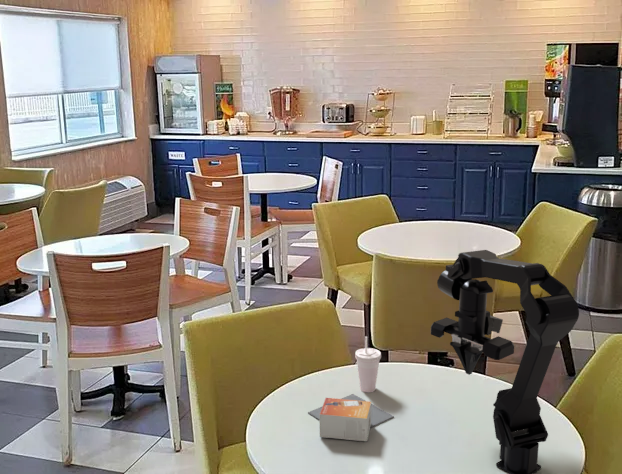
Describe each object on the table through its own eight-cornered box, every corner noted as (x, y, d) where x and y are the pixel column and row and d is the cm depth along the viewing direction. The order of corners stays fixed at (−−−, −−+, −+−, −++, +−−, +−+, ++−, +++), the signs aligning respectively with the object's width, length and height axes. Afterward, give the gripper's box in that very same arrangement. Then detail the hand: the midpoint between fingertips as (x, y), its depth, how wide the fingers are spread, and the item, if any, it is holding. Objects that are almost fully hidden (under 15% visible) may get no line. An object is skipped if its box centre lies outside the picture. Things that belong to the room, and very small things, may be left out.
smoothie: (351, 385, 174) (351, 333, 171) (374, 381, 176) (375, 330, 173) (360, 396, 168) (360, 343, 165) (384, 392, 170) (385, 339, 167)
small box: (367, 418, 147) (319, 414, 149) (367, 442, 148) (319, 437, 150) (371, 400, 154) (325, 396, 156) (371, 423, 156) (325, 418, 158)
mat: (393, 417, 159) (393, 416, 159) (348, 438, 150) (348, 437, 150) (352, 394, 169) (352, 393, 169) (308, 413, 161) (308, 412, 161)
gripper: (532, 310, 147) (526, 377, 151) (462, 288, 161) (459, 350, 165) (499, 323, 140) (495, 393, 144) (430, 299, 154) (427, 363, 158)
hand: (469, 373), depth 153 cm, fingers closed
